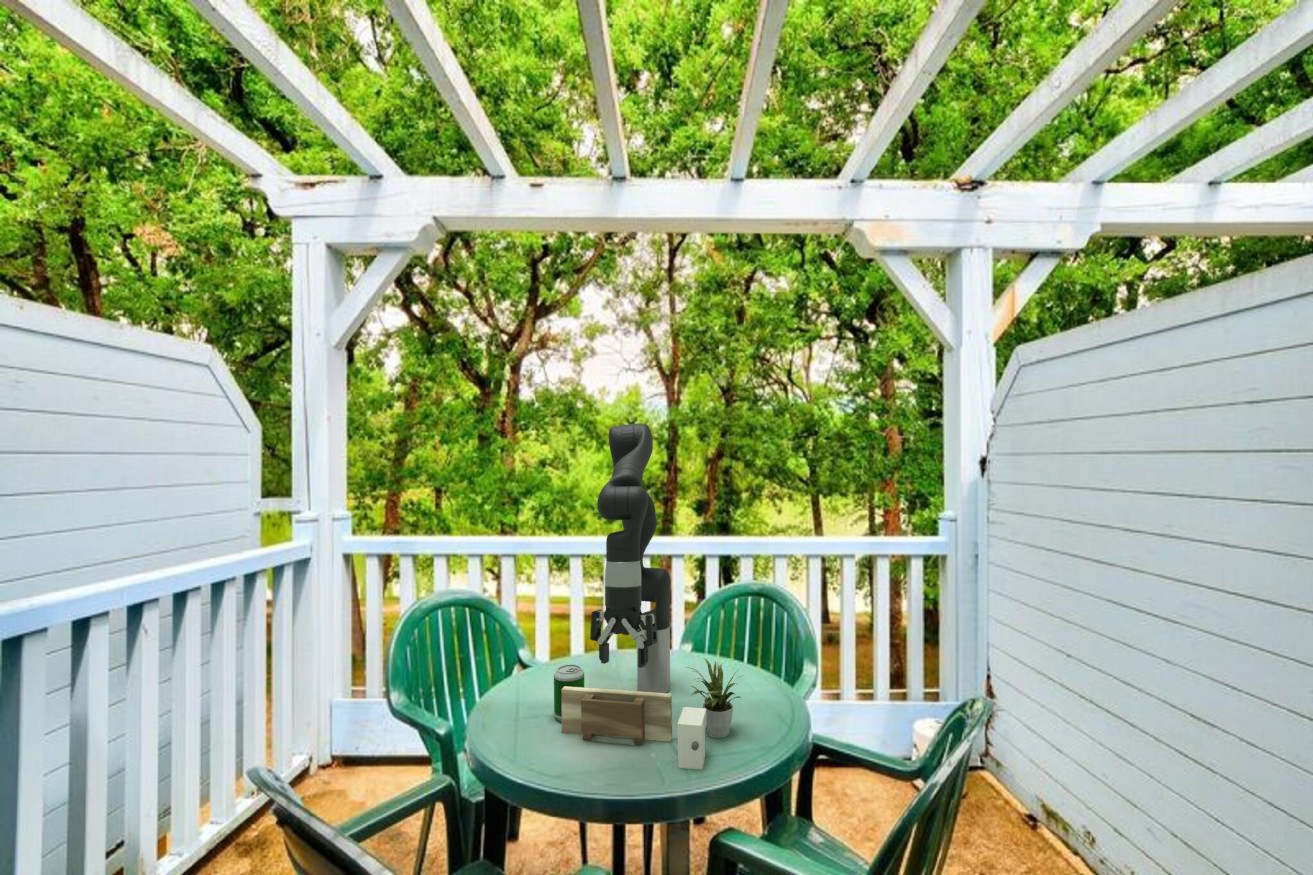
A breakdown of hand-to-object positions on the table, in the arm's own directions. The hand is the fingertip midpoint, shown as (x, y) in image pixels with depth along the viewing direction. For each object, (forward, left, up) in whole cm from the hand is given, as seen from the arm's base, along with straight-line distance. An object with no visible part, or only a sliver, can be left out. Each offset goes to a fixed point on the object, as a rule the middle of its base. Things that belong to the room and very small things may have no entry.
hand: (623, 664), depth 121 cm
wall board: (-15, -6, -23) cm, 28 cm away
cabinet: (-9, +13, -23) cm, 27 cm away
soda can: (-24, -20, -23) cm, 39 cm away
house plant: (-23, +16, -23) cm, 36 cm away
